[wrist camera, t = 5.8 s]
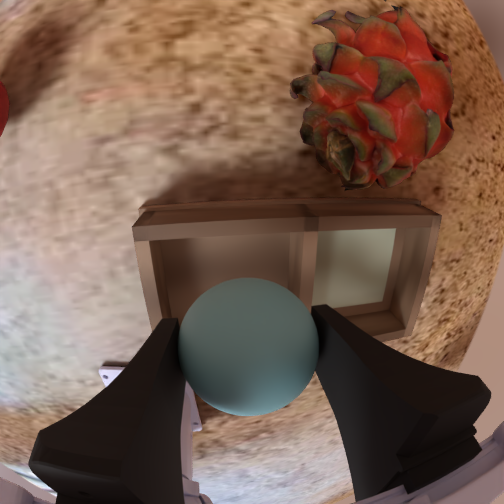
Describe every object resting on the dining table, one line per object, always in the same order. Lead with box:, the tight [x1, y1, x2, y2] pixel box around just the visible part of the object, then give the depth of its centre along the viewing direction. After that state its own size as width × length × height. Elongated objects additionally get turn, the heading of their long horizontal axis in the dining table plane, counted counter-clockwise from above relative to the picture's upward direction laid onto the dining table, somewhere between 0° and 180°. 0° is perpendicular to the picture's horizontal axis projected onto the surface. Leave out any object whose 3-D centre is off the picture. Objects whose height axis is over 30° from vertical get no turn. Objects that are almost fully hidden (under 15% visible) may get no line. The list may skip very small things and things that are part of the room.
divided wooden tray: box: [132, 198, 442, 342], centre depth 19 cm, size 10×19×3 cm, turn 91°
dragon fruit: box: [290, 0, 454, 191], centre depth 13 cm, size 8×8×12 cm
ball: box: [178, 278, 319, 416], centre depth 10 cm, size 5×5×5 cm
